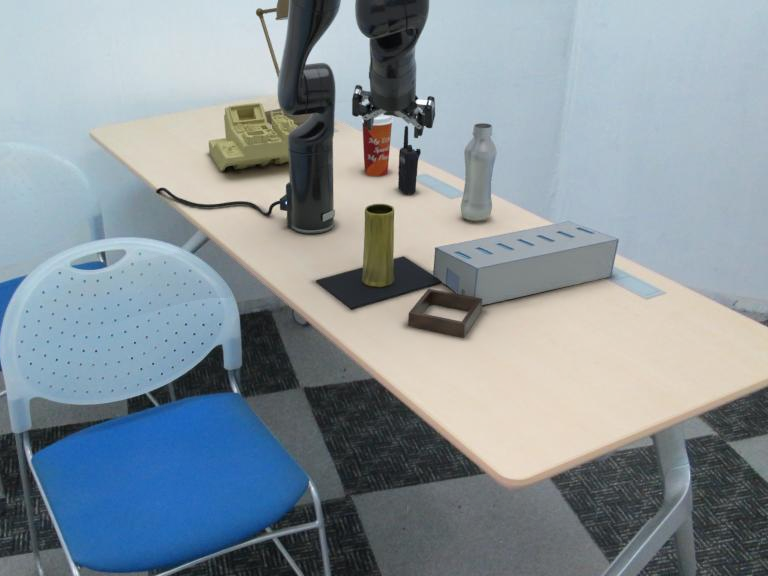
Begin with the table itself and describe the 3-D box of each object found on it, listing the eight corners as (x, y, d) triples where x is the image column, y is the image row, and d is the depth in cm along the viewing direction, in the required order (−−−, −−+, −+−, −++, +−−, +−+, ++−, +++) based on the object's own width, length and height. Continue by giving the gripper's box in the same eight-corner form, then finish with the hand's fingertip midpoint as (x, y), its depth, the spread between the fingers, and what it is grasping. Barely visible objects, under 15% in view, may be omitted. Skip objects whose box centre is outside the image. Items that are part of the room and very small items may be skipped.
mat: (351, 309, 153) (351, 307, 153) (315, 281, 163) (315, 280, 163) (442, 283, 161) (442, 281, 161) (403, 257, 170) (403, 256, 170)
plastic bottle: (490, 225, 182) (500, 131, 171) (458, 223, 184) (465, 130, 172) (491, 213, 188) (500, 121, 176) (460, 212, 189) (467, 120, 177)
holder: (407, 326, 148) (408, 312, 146) (427, 301, 155) (428, 288, 154) (463, 337, 144) (464, 324, 143) (481, 311, 151) (482, 298, 150)
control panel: (198, 101, 218) (272, 84, 222) (207, 157, 229) (278, 140, 233) (223, 142, 202) (303, 124, 205) (232, 200, 213) (307, 182, 216)
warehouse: (564, 247, 172) (570, 212, 168) (611, 276, 161) (618, 239, 156) (433, 275, 163) (435, 237, 159) (473, 307, 152) (477, 268, 148)
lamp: (294, 136, 237) (289, -11, 216) (241, 108, 261) (232, -26, 240) (341, 127, 242) (340, -17, 221) (284, 100, 267) (279, -32, 246)
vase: (359, 274, 164) (360, 203, 156) (391, 272, 164) (393, 201, 156) (364, 289, 159) (365, 216, 151) (397, 287, 159) (399, 214, 151)
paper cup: (370, 180, 207) (371, 121, 199) (354, 170, 213) (355, 113, 205) (398, 173, 210) (400, 116, 202) (381, 165, 216) (382, 108, 208)
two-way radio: (395, 188, 202) (397, 124, 193) (412, 186, 203) (415, 122, 194) (405, 196, 197) (407, 131, 189) (422, 193, 199) (426, 128, 190)
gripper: (441, 62, 138) (437, 117, 154) (355, 49, 140) (359, 105, 156) (431, 103, 136) (428, 155, 152) (344, 89, 139) (350, 142, 155)
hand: (393, 129), depth 154 cm, fingers open, 8 cm apart
